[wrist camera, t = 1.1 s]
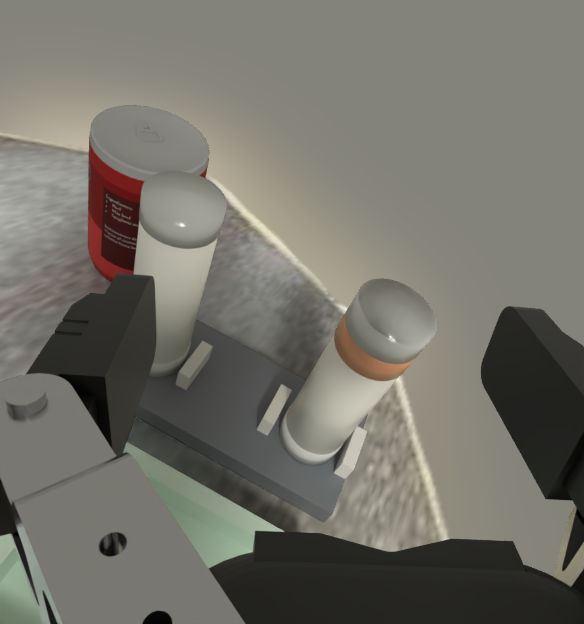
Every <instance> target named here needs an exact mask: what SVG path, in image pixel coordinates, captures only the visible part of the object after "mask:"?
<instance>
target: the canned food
mask: <svg viewBox="0 0 584 624" xmlns="http://www.w3.org/2000/svg"><path fill="white" fill-rule="evenodd" d="M208 161H209V146H208V144H207V141H206V139H205V138H204V137H203V135H202V134H201V133H200V131H199V130H197V129H196V128H195V127H194V126H193V125H191V124H190V123H189V122H187V121H186V120H184V119H182V118H180V117H178V116H176V115H174V114H171V113H169V112H166V111H163V110H160V109H156V108H151V107H146V106H136V105H134V106H133V105H132V106H131V105H130V106H129V105H128V106H118V107H114V108H110V109H107V110H105V111H103V112H102V113H100V114H99V115H97V116H96V117H95V118H94V120H93V122H92V124H91V131H90V137H89V192H88V249H89V254H90V256H91V259H92V261H93V263H94V265H95V267H96V269H97V270H98V271H99V272H100V274H102V275H103V276H104V277H105V278H106V279H108V280H109V281H111V282H112V281H113V279H114V278H115V276H116V274H118V273H124V274H134V265H135V255H136V246H137V237H138V228H139V209H140V199H141V190H142V186H143V184H144V182H145V181H146V180H147V179H148V178H149V177H151V176H152V175H154V174H157V173H160V172H165V171H182V172H188V173H192V174H195V175H198V176H201V177H203V178H205V177H206V172H207V167H208Z"/></svg>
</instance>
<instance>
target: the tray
mask: <svg viewBox="0 0 584 624" xmlns="http://www.w3.org/2000/svg"><path fill="white" fill-rule="evenodd" d="M126 452H127V453H129V454H131V455H132V456H133V457H134V458H135V460H136V461H137V462H138V464H139V465H140V467H141V468H142V470H143V471H144V473H145V474H146V476H147V477H148V479H149V480H150V482H151V483H152V485H153V486H154V488H155V489H156V491H157V492H158V494H159V495H160V497H161V498H162V500H163V501H164V503H165V504H166V506H167V507H168V509H169V510H170V512H171V513H172V515H173V516H174V518H175V519H176V521H177V522H178V524H179V525H180V527H181V528H182V530H183V531H184V533H185V534H186V536H187V537H188V539H189V540H190V542H191V543H192V545H193V546H194V548H195V549H196V551H197V552H198V554H199V555H200V557H201V558H202V560H203V561H204V563H205V564H206V566H207V567H208V568H210V567H212V566H214V565H216V564H218V563H220V562H222V561H225V560H228V559H230V558H233V557H236V556H239V555H242V554H246V553H251V552H253V545H254V536H255V531H275V532H284V531H283V530H281V529H279V528H277V527H276V526H274V525H272V524H270V523H269V522H267V521H265V520H263V519H262V518H260V517H258V516H256V515H255V514H253V513H251V512H249V511H248V510H246V509H244V508H242V507H240V506H239V505H237V504H235V503H233V502H232V501H230V500H228V499H226V498H225V497H223V496H221V495H219V494H218V493H216V492H214V491H212V490H211V489H209V488H207V487H205V486H204V485H202V484H200V483H198V482H197V481H195V480H193V479H191V478H190V477H188V476H186V475H184V474H183V473H181V472H179V471H177V470H175V469H174V468H172V467H170V466H168V465H167V464H165V463H163V462H161V461H160V460H158V459H156V458H154V457H153V456H151V455H149V454H147V453H146V452H144V451H142V450H140V449H139V448H137V447H135V446H133V445H132V444H130V443H128V442H126V445H125V448H124V451H123V453H126ZM0 624H43V622H42V619H41V617H40V614H39V611H38V609H37V606H36V603H35V600H34V598H33V595H32V592H31V590H30V587H29V584H28V582H27V579H26V576H25V574H24V571H23V568H22V565H21V563H20V560H19V557H18V555H17V552H16V549H15V547H14V544H13V541H12V539H11V536H10V534H7V535H3V536H0Z"/></svg>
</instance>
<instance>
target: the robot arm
mask: <svg viewBox="0 0 584 624" xmlns="http://www.w3.org/2000/svg"><path fill="white" fill-rule="evenodd" d="M156 339H157V333H156V302H155V282H154V278H153V276H148V275H136V274H124V273H118V274H116V276H115V278H114V279H113V281H112V283H111V284H110V286H109V288H108V290H107V291H106V293H105V294H95V293H90V294H89V295H87V296H85V297H84V298H82V299H81V300H79V301H78V302H76V303H74V304H73V305H72V306H71V308H70V309H69V311H68V312H67V314H66V315H65V317H64V318H63V322H61V323H60V324H59V326H58V327H57V329H56V330H55V334H53V335H52V336H51V338H50V339H49V341H48V342H47V344H46V345H45V347H44V348H43V349H42V351H41V352H40V354H39V355H38V357H37V358H36V360H35V361H34V363H33V364H32V366H31V367H30V369H29V370H28V372H27V373H26V375H21V376H17V377H13V378H10V379H7V380H5V381H3V382H1V383H0V536H3V535H7V534H10V536H11V539H12V541H13V544H14V547H15V549H16V552H17V555H18V557H19V560H20V563H21V565H22V568H23V571H24V574H25V576H26V579H27V582H28V584H29V587H30V590H31V592H32V595H33V598H34V600H35V603H36V606H37V609H38V611H39V614H40V617H41V619H42V622H43V624H584V347H583V346H582V345H581V344H580V343H578V342H577V341H575V340H573V339H572V338H571V337H569V336H568V335H566V334H565V333H563V332H562V331H561V330H560V328H558V326H557V325H556V324H555V323H554V322H553V321H552V319H551V318H550V317H549V316H548V315H547V314H546V313H545V312H544V311H543V310H541V309H535V308H523V307H510V306H509V307H506V308H505V309H504V310H503V311H502V312H501V314H500V316H499V319H498V321H497V324H496V327H495V329H494V332H493V334H492V337H491V340H490V342H489V345H488V348H487V350H486V353H485V355H484V358H483V361H482V366H481V379H482V383H483V386H484V388H485V390H486V392H487V393H488V395H489V397H490V399H491V401H492V402H493V404H494V406H495V408H496V410H497V412H498V413H499V415H500V417H501V419H502V421H503V422H504V424H505V426H506V428H507V430H508V431H509V433H510V435H511V437H512V439H513V441H514V442H515V444H516V446H517V448H518V450H519V451H520V453H521V455H522V457H523V459H524V460H525V462H526V464H527V466H528V468H529V470H530V471H531V473H532V475H533V477H534V479H535V480H536V482H537V484H538V486H539V488H540V489H541V491H542V493H543V495H544V497H545V499H555V500H573V502H574V504H575V505H576V506H575V508H574V509H573V511H572V512H571V514H570V516H569V518H568V521H567V525H566V529H565V533H564V537H563V541H562V544H561V548H560V552H559V556H558V559H557V563H556V567H555V571H554V575H553V576H551V575H549V574H547V573H545V572H542V571H539V570H537V569H534V568H532V567H529V566H526V565H523V563H522V560H521V558H520V556H519V554H518V551H517V549H516V547H515V545H514V543H513V541H492V540H468V539H449V540H444V541H440V542H436V543H431V544H427V545H423V546H418V547H414V548H410V549H405V550H401V551H396V552H387V551H382V550H379V549H375V548H371V547H368V546H364V545H361V544H357V543H353V542H350V541H346V540H343V539H339V538H335V537H332V536H328V535H325V534H321V533H300V532H275V531H255V536H254V545H253V552H251V553H246V554H242V555H239V556H236V557H233V558H230V559H228V560H225V561H222V562H220V563H218V564H216V565H214V566H212V567H210V568H208V567H207V566H206V564H205V563H204V561H203V560H202V558H201V557H200V555H199V554H198V552H197V551H196V549H195V548H194V546H193V545H192V543H191V542H190V540H189V539H188V537H187V536H186V534H185V533H184V531H183V530H182V528H181V527H180V525H179V524H178V522H177V521H176V519H175V518H174V516H173V515H172V513H171V512H170V510H169V509H168V507H167V506H166V504H165V503H164V501H163V500H162V498H161V497H160V495H159V494H158V492H157V491H156V489H155V488H154V486H153V485H152V483H151V482H150V480H149V479H148V477H147V476H146V474H145V473H144V471H143V470H142V468H141V467H140V465H139V464H138V462H137V461H136V460H135V458H134V457H133V456H132V455H131V454H129V453H127V452H126V453H123V451H124V448H125V445H126V442H127V439H128V436H129V433H130V430H131V427H132V424H133V421H134V418H135V415H136V412H137V409H138V407H139V404H140V401H141V398H142V395H143V392H144V389H145V386H146V383H147V380H148V377H149V374H150V371H151V368H152V365H153V361H154V357H155V351H156Z"/></svg>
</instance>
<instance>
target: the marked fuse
mask: <svg viewBox="0 0 584 624" xmlns="http://www.w3.org/2000/svg"><path fill="white" fill-rule="evenodd" d="M436 324H437V323H436V318H435V315H434V313H433V310H432V309H431V307H430V306H429V304H428V303H427V302H426V300H425V299H424V298H423V297H422V296H421V295H420V294H418V293H417V292H416V291H414V290H413V289H412V288H410V287H408V286H406V285H404V284H402V283H400V282H397V281H394V280H390V279H373V280H370V281H368V282H366V283H364V284H363V285H362V286H361V288H360V289H359V291H358V293H357V294H356V296H355V298H354V299H353V301H352V303H351V305H350V306H349V308H348V309H347V311H346V313H345V314H344V316H343V318H342V319H341V321H340V323H339V324H338V326H337V328H336V330H335V333H334V335H333V336H332V338H331V340H330V341H329V343H328V345H327V347H326V348H325V350H324V352H323V353H322V355H321V357H320V358H319V360H318V362H317V363H316V365H315V367H314V368H313V370H312V372H311V373H310V375H309V377H308V378H307V380H306V382H305V383H304V385H303V387H302V388H301V390H300V392H299V393H298V395H297V397H296V399H295V400H294V402H293V404H292V405H291V406H290V407H289V409H288V410H287V412H286V414H285V415H284V417H283V419H282V420H281V423H280V426H279V438H280V441H281V444H282V446H283V448H284V450H285V451H286V452H287V453H288V454H289V455H290V456H291V457H292V458H293V459H294V460H296V461H298V462H300V463H302V464H305V465H310V466H317V465H322V464H324V463H326V462H328V461H329V460H330V459H331V458H332V457H333V456H334V455H335V454H336V453H337V451H338V450H339V449H340V448H341V447H342V445H343V443H344V442H345V441H346V439H347V438H348V437H349V436H350V435H351V433H352V432H353V431H354V430H355V429H356V427H357V426H358V425H359V424H360V422H361V421H362V420H363V419H364V418H365V416H366V415H367V414H368V413H369V412H370V410H371V409H372V408H373V407H374V406H375V404H376V403H377V402H378V401H379V400H380V398H381V397H382V396H383V395H384V394H385V392H386V391H387V390H388V389H389V388H390V386H391V385H392V384H393V383H394V382H395V380H396V379H397V378H398V377H399V376H401V375H402V374H403V372H404V371H405V370H406V369H407V368H408V366H409V365H410V364H411V363H412V362H413V360H414V359H415V358H416V357H417V356H418V354H419V353H420V352H421V351H422V350H423V348H424V347H425V346H426V345H427V344H428V342H429V341H430V340H431V339H432V338H433V336H434V335H435V332H436V327H437V325H436Z"/></svg>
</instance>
